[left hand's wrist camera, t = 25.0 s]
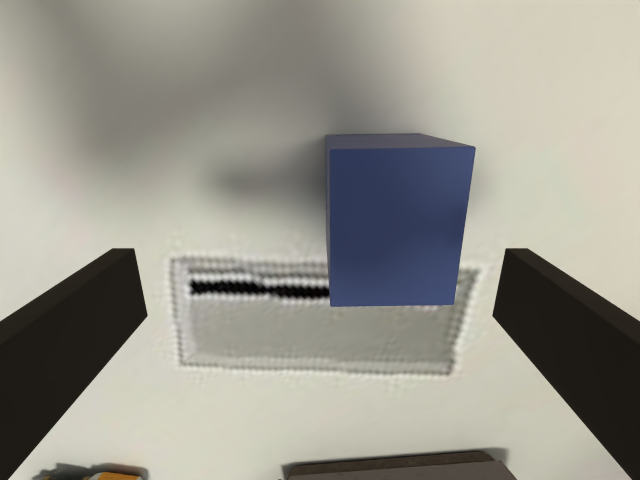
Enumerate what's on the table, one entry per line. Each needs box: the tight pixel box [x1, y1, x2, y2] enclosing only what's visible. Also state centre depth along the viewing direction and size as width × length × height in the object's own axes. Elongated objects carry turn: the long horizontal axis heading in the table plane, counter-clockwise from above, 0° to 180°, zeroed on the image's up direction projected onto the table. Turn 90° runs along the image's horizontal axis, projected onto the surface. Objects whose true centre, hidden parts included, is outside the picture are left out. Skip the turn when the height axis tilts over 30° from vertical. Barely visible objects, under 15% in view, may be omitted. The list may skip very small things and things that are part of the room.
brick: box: [326, 133, 476, 307], centre depth 24 cm, size 7×9×10 cm
